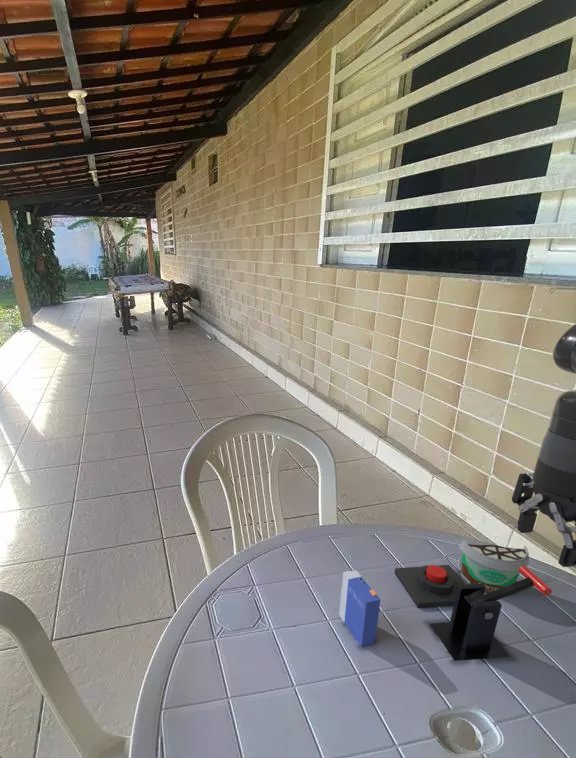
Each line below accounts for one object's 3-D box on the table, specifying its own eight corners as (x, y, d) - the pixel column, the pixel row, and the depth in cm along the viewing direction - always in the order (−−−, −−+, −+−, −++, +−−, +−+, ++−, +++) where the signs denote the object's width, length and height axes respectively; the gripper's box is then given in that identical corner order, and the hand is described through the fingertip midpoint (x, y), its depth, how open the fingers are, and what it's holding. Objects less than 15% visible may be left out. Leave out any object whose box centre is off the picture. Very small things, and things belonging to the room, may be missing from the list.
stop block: (447, 572, 94) (450, 557, 93) (476, 607, 85) (480, 592, 83) (393, 575, 94) (395, 561, 93) (417, 611, 85) (420, 596, 83)
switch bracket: (479, 624, 81) (492, 576, 77) (510, 662, 74) (525, 611, 69) (428, 628, 81) (437, 579, 77) (453, 666, 74) (465, 615, 69)
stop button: (439, 571, 90) (440, 564, 89) (449, 583, 86) (450, 576, 86) (422, 572, 90) (423, 565, 89) (431, 584, 86) (433, 577, 86)
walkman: (374, 648, 78) (381, 597, 73) (360, 651, 77) (366, 601, 73) (351, 614, 85) (356, 567, 81) (338, 617, 85) (342, 570, 80)
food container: (462, 597, 87) (471, 558, 84) (452, 576, 93) (460, 539, 89) (531, 606, 84) (543, 566, 81) (517, 584, 90) (528, 545, 86)
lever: (527, 572, 75) (525, 562, 74) (553, 595, 70) (550, 585, 69) (461, 598, 77) (458, 589, 76) (481, 622, 72) (478, 613, 71)
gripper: (643, 482, 57) (607, 576, 63) (555, 438, 70) (533, 520, 76) (588, 486, 57) (557, 580, 63) (511, 441, 70) (491, 523, 76)
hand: (544, 547), depth 70 cm, fingers open, 8 cm apart
